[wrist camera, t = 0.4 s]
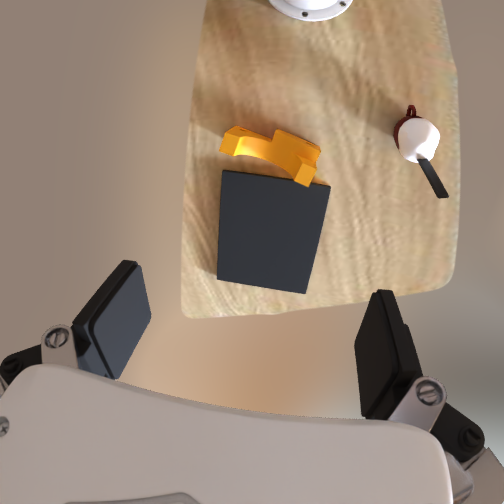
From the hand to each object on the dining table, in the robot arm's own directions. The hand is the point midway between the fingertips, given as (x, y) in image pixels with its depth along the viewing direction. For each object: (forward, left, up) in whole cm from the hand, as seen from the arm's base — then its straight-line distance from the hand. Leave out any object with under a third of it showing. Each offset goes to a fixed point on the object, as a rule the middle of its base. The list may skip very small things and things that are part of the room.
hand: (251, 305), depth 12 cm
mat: (+15, -1, -34) cm, 37 cm away
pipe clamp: (0, -2, -34) cm, 34 cm away
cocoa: (-5, +17, -34) cm, 38 cm away
